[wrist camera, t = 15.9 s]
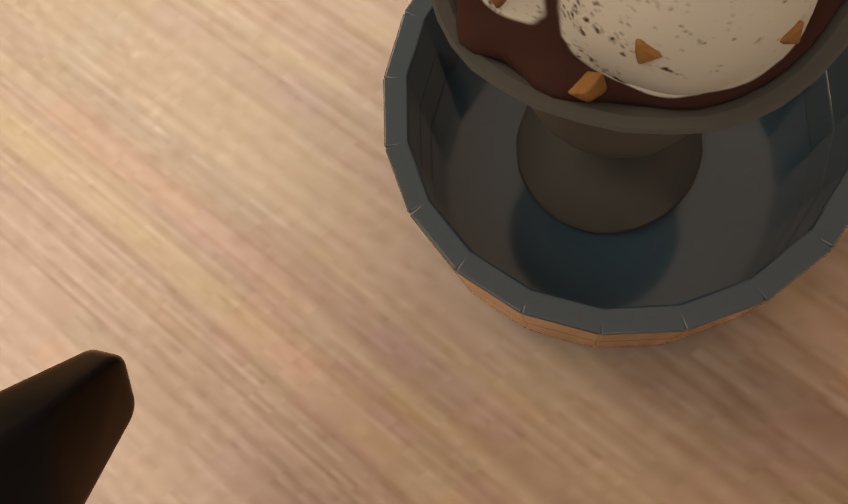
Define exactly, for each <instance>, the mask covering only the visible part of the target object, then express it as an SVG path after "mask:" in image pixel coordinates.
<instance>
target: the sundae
mask: <svg viewBox="0 0 848 504" xmlns="http://www.w3.org/2000/svg"><path fill="white" fill-rule="evenodd" d="M431 2H432V6H433V9H434V12H435V15H436V19H437V21H438V23H439V25H440V27H441V28H442V30H443V32H444V34H445V36H446V38H447V40H448V42H449V44H450V46H451V47H452V48H453V49H454V50H455V52H456V53H457V54H458V55H459V56H460V58H461V59H462V60H463V61H464V62H465V63H466V65H467V66H468V67H469V68H470V69H471V70H472V71H473V72H475V73H476V74H478V75H479V76H481V77H482V78H483V79H485V80H486V81H488V82H489V83H491V84H492V85H493V86H495V87H496V88H498V89H500V90H501V91H503V92H505V93H507V94H509V95H510V96H512V97H514V98H516V99H518V100H519V101H521V102H523V103H525V104H527V105H528V106H527V108H526V110H525V113H524V115H523V117H522V120H521V122H520V126H519V130H518V133H517V137H516V155H517V162H518V169H519V172H520V175H521V177H522V179H523V181H524V184H525V186H526V187H527V189H528V191H529V192H530V194H531V196H532V197H533V199H534V200H535V201H536V202H537V203H538V204H539V205H540V206H541V207H542V208H543V209H544V210H545V211H546V212H547V213H549V214H550V215H552V216H553V217H555V218H556V219H557V220H559V221H560V222H562V223H564V224H567V225H569V226H572V227H575V228H577V229H580V230H585V231H589V232H593V233H620V232H628V231H635V230H637V229H639V228H642V227H644V226H647V225H649V224H651V223H653V222H655V221H657V220H659V219H660V218H662V217H664V216H666V215H667V214H669V213H670V212H671V211H672V210H673V209H674V208H675V207H676V206H677V205H678V204H679V203H680V202H681V200H682V199H683V198H684V197H685V195H686V194H687V193H688V191H689V190H690V189H691V187H692V186H693V183H694V180H695V178H696V175H697V173H698V170H699V166H700V162H701V158H702V154H703V151H702V135H701V133H713V132H717V131H720V130H724V129H728V128H732V127H736V126H740V125H744V124H748V123H750V122H752V121H754V120H756V119H758V118H760V117H762V116H764V115H766V114H768V113H770V112H772V111H774V110H777V109H778V108H780V107H782V106H784V105H785V104H786V103H788V102H789V101H790V100H792V99H793V98H794V97H796V96H797V95H798V94H800V93H801V92H802V91H804V90H805V89H806V88H808V87H809V86H810V85H811V84H813V83H814V82H815V81H817V80H818V79H819V78H820V77H821V76H822V74H823V73H824V72H825V71H826V70H827V69H828V68H829V67H830V65H831V64H832V63H833V62H834V61H835V60H836V59H837V58H838V56H839V55H840V54H841V53H842V52H843V51H844V50H845V49H846V47H847V46H848V0H431Z"/></svg>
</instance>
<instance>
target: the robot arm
mask: <svg viewBox="0 0 848 504" xmlns="http://www.w3.org/2000/svg"><path fill="white" fill-rule="evenodd" d="M133 411H134V396H133V392H132V388H131V384H130V380H129V376H128V372H127V368H126V364H125V362H124V360H123V359H122V358H121V357H120V356H118V355H115V354H111V353H107V352H103V351H99V350H89V351H86V352H83V353H81V354H79V355H77V356H75V357H72V358H70V359H68V360H66V361H64V362H62V363H60V364H57V365H55V366H53V367H51V368H49V369H47V370H45V371H43V372H40V373H38V374H36V375H34V376H32V377H30V378H28V379H25V380H23V381H21V382H19V383H17V384H15V385H13V386H11V387H8V388H6V389H4V390H2V391H0V504H85V502H86V500H87V499H88V497H89V495H90V493H91V491H92V489H93V488H94V486H95V484H96V482H97V480H98V478H99V477H100V475H101V473H102V471H103V469H104V467H105V466H106V464H107V462H108V460H109V458H110V456H111V455H112V453H113V451H114V449H115V447H116V445H117V444H118V442H119V440H120V438H121V436H122V434H123V433H124V431H125V429H126V427H127V425H128V423H129V422H130V419H131V417H132V414H133Z"/></svg>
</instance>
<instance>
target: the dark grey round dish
mask: <svg viewBox="0 0 848 504" xmlns="http://www.w3.org/2000/svg"><path fill="white" fill-rule="evenodd" d="M384 78H385V79H384V80H383V94H384V145H385V147H386V153H387V156H388V158H389V161H390V164H391V167H392V169H393V172H394V175H395V178H396V180H397V183H398V186H399V189H400V191H401V194H402V197H403V200H404V202H405V205H406V208H407V211H408V212H409V214H410V216H411V218H412V219H413V220H414V221H415V223H416V224H417V225H418V226H419V228H420V229H421V230H422V231H423V233H424V234H425V235H426V236H427V238H428V239H429V240H430V242H431V243H432V244H433V245H434V247H435V248H436V249H437V250H438V251H439V253H440V254H441V255H442V256H443V258H444V259H445V260H446V261H447V263H448V264H449V265H450V266H451V268H452V269H453V270H454V271H455V273H456V274H457V275H458V276H459V278H460V279H461V280H462V281H463V283H464V284H465V285H466V286H467V288H468V289H469V290H470V291H471V292H473V294H474V295H476V296H477V297H479V298H480V299H482V300H483V301H485V302H486V303H488V304H489V305H490V306H491V307H493V308H494V309H496V310H498V311H499V312H501V313H502V314H504V315H505V316H507V317H509V318H510V319H512V320H513V321H515V322H517V323H519V324H520V325H522V326H524V327H525V328H528V329H530V330H533V331H536V332H539V333H542V334H545V335H548V336H551V337H555V338H558V339H561V340H564V341H569V342H574V343H580V344H584V345H588V346H596V347H631V346H644V345H656V344H663V343H669V342H672V341H675V340H678V339H680V338H683V337H686V336H688V335H691V334H694V333H697V332H700V331H703V330H705V329H707V328H710V327H713V326H716V325H718V324H721V323H724V322H727V321H729V320H731V319H733V318H735V317H737V316H739V315H741V314H743V313H745V312H747V311H749V310H751V309H753V308H755V307H757V306H759V305H761V304H763V303H764V302H766V301H768V300H770V299H771V298H772V297H773V296H775V295H776V294H777V293H779V292H780V291H781V290H782V289H784V288H785V287H786V286H787V285H789V284H790V283H791V282H792V281H794V280H795V279H796V278H797V277H799V276H800V275H801V274H802V273H804V272H805V271H806V270H807V269H809V268H810V267H811V266H812V265H814V264H815V263H816V262H817V261H819V260H820V259H821V258H822V257H824V256H825V255H826V254H827V253H829V252H830V251H831V248H833V247H834V246H835V245H836V243H837V241H838V240H839V238H840V237H841V235H842V233H843V232H844V230H845V229H846V227H847V226H848V46H847V47H846V49H845V50H844V51H843V52H842V53H841V54H840V55H839V56H838V58H837V59H836V60H835V61H834V62H833V63H832V64H831V65H830V67H829V68H828V69H827V70H826V71H825V72H824V73H823V74H822V76H821V77H820V78H819V79H818V80H817V81H815V82H814V83H813V84H811V85H810V86H809V87H808V88H806V89H805V90H804V91H802V92H801V93H800V94H798V95H797V96H796V97H794V98H793V99H792V100H790V101H789V102H788V103H786V104H785V105H784V106H782V107H780V108H778V109H777V110H774V111H772V112H770V113H768V114H766V115H764V116H762V117H760V118H758V119H756V120H754V121H752V122H750V123H748V124H744V125H740V126H736V127H732V128H728V129H724V130H720V131H717V132H713V133H701V135H702V151H703V154H702V158H701V162H700V166H699V170H698V173H697V175H696V178H695V180H694V183H693V186H692V187H691V189H690V190H689V191H688V193H687V194H686V195H685V197H684V198H683V199H682V200H681V202H680V203H679V204H678V205H677V206H676V207H675V208H674V209H673V210H672V211H671V212H670V213H669V214H667V215H666V216H664V217H662V218H660V219H659V220H657V221H655V222H653V223H651V224H649V225H647V226H644V227H642V228H639V229H637V230H635V231H628V232H620V233H593V232H589V231H585V230H580V229H577V228H575V227H572V226H569V225H567V224H564V223H562V222H560V221H559V220H557V219H556V218H555V217H553V216H552V215H550V214H549V213H547V212H546V211H545V210H544V209H543V208H542V207H541V206H540V205H539V204H538V203H537V202H536V201H535V200H534V199H533V197H532V196H531V194H530V192H529V191H528V189H527V187H526V186H525V184H524V181H523V179H522V177H521V175H520V172H519V169H518V162H517V155H516V137H517V133H518V130H519V126H520V122H521V120H522V117H523V115H524V113H525V110H526V108H527V106H528V105H527V104H525V103H523V102H521V101H519V100H518V99H516V98H514V97H512V96H510V95H509V94H507V93H505V92H503V91H501V90H500V89H498V88H496V87H495V86H493V85H492V84H491V83H489V82H488V81H486V80H485V79H483V78H482V77H481V76H479V75H478V74H476V73H475V72H473V71H472V70H471V69H470V68H469V67H468V66H467V65H466V63H465V62H464V61H463V60H462V59H461V58H460V56H459V55H458V54H457V53H456V52H455V50H454V49H453V48H452V47H451V46H450V44H449V42H448V40H447V38H446V36H445V34H444V32H443V30H442V28H441V27H440V25H439V23H438V21H437V19H436V15H435V12H434V9H433V6H432V2H431V0H412V2H411V3H410V5H409V6H408V7H407V9H406V10H405V14H404V15H403V17H402V21H401V24H400V27H399V30H398V33H397V37H396V40H395V43H394V46H393V50H392V53H391V56H390V59H389V63H388V66H387V69H386V72H385V75H384Z"/></svg>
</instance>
